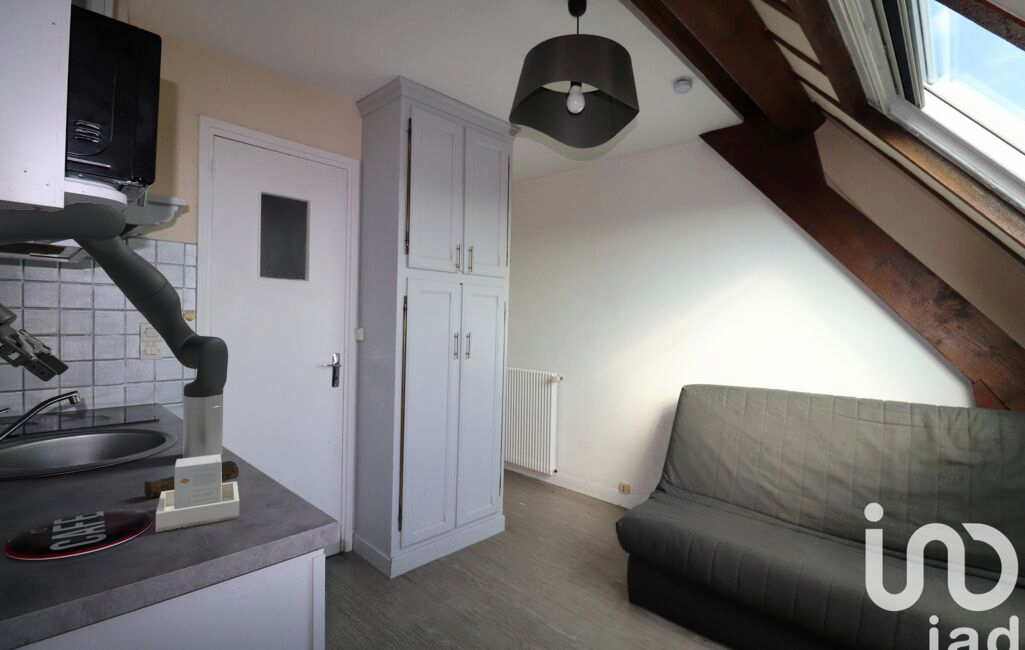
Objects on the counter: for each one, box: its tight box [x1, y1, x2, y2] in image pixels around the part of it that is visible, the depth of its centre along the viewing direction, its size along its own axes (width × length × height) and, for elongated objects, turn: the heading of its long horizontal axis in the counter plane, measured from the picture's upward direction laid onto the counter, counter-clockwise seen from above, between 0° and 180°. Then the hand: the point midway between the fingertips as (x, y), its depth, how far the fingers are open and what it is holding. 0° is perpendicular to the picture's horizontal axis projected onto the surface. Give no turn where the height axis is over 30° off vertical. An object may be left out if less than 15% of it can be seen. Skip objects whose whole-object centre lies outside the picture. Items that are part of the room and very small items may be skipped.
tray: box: [155, 481, 240, 533], centre depth 100 cm, size 12×14×4 cm
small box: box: [173, 454, 223, 509], centre depth 99 cm, size 8×6×10 cm
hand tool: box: [144, 460, 240, 500], centre depth 113 cm, size 19×4×5 cm, turn 140°
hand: (58, 374), depth 91 cm, fingers open, 8 cm apart
